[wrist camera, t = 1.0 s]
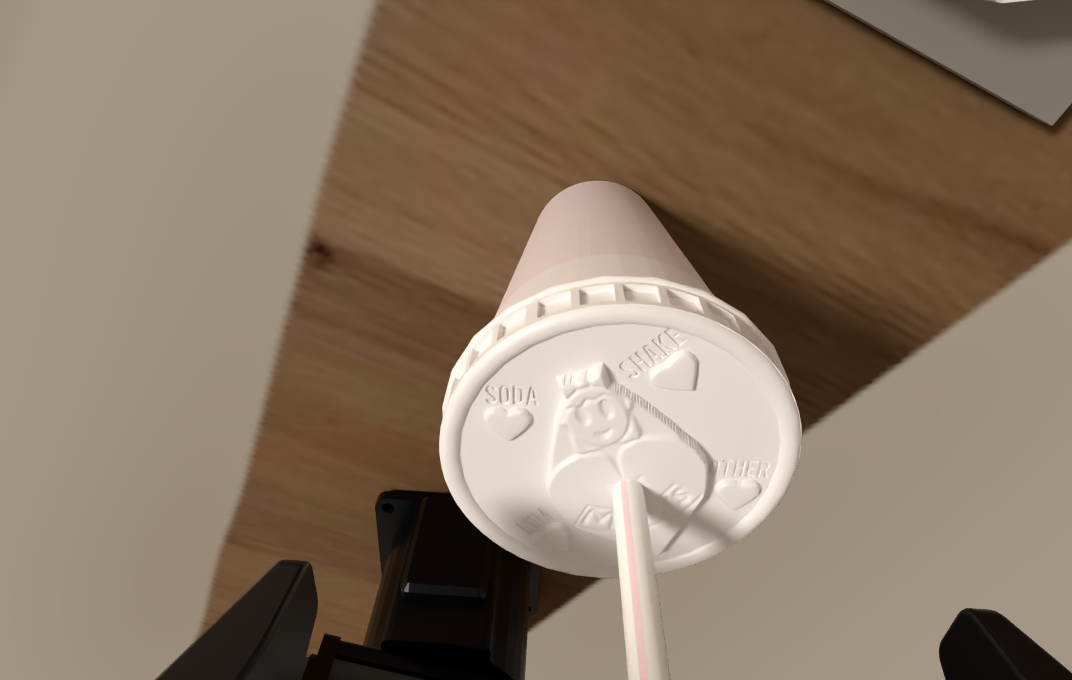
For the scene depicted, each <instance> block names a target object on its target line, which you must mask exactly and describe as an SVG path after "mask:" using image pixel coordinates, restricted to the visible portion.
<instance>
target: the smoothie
mask: <svg viewBox="0 0 1072 680" xmlns="http://www.w3.org/2000/svg"><path fill="white" fill-rule="evenodd" d="M442 409H443V420H442V424H441V429H440V438H439V454H440V461H441V467H442V471H443V474H444V478H445V481H446V483H447V486H448V488H449V490H450V493H451V494H452V496H453V498H454V500H455V502H456V503H457V505H458V506H459V508H460V509H461V510H462V512H463V513H464V514H465V516H466V517H467V518H468V519H469V520H470V521H471V522H472V524H473V525H474V526H476V527H477V528H478V529H479V530H480V531H481V532H482V533H483V534H484V535H486V536H487V537H488V538H489V539H491V540H492V541H493V542H495V543H496V544H498V545H499V546H501V547H502V548H504V549H505V550H507V551H509V552H511V553H513V554H515V555H516V556H518V557H520V558H522V559H525V560H527V561H530V562H532V563H535V564H537V565H540V566H542V567H545V568H548V569H552V570H556V571H560V572H564V573H568V574H573V575H579V576H588V577H598V578H619V579H620V591H621V602H622V615H623V627H624V637H625V650H626V661H627V674H628V680H670V674H669V667H668V660H667V653H666V646H665V639H664V632H663V624H662V617H661V611H660V603H659V596H658V589H657V582H656V575H655V574H662V573H667V572H671V571H674V570H677V569H681V568H684V567H688V566H691V565H694V564H697V563H699V562H701V561H704V560H706V559H708V558H710V557H712V556H714V555H717V554H719V553H721V552H723V551H725V550H726V549H728V548H729V547H731V546H732V545H734V544H736V543H737V542H739V541H740V540H742V539H743V538H745V537H746V536H748V535H749V534H750V533H751V532H752V531H753V530H754V529H756V528H757V527H758V526H759V525H760V524H761V523H762V522H763V521H764V520H765V519H766V518H767V517H768V516H769V515H770V514H771V513H772V511H773V510H774V509H775V507H776V506H777V505H778V504H779V503H780V501H781V499H782V498H783V496H784V495H785V493H786V492H787V490H788V488H789V486H790V484H791V482H792V480H793V477H794V474H795V472H796V469H797V466H798V462H799V457H800V453H801V442H802V428H801V420H800V414H799V410H798V407H797V404H796V400H795V397H794V395H793V393H792V391H791V389H790V383H789V380H788V377H787V375H786V373H785V370H784V368H783V366H782V364H781V361H780V359H779V357H778V355H777V352H776V350H775V348H774V346H773V344H772V343H771V342H770V341H769V340H768V339H767V338H766V337H765V336H764V335H763V334H762V332H761V331H760V330H759V329H758V328H757V327H756V326H755V325H754V324H753V323H752V322H751V320H750V319H749V318H748V317H747V316H746V315H745V314H744V313H742V312H741V311H739V310H737V309H735V308H734V307H732V306H730V305H729V304H727V303H725V302H724V301H722V300H720V299H718V298H717V297H715V296H714V295H713V294H712V293H711V291H710V290H709V288H708V287H707V286H706V284H705V283H704V282H703V280H702V279H701V277H700V276H699V275H698V273H697V272H696V271H695V269H694V268H693V266H692V265H691V264H690V262H689V261H688V260H687V258H686V257H685V255H684V254H683V253H682V251H681V250H680V249H679V247H678V246H677V244H676V243H675V242H674V240H673V239H672V238H671V236H670V235H669V233H668V232H667V231H666V229H665V228H664V227H663V225H662V224H661V222H660V221H659V220H658V218H657V217H656V216H655V214H654V213H653V211H652V210H651V209H650V207H649V206H648V205H647V203H646V202H645V201H644V200H643V199H642V198H641V197H640V196H639V195H638V194H636V193H635V192H634V191H632V190H631V189H629V188H627V187H625V186H623V185H620V184H617V183H613V182H608V181H588V182H583V183H579V184H576V185H573V186H571V187H568V188H567V189H565V190H563V191H562V192H560V193H559V194H557V195H556V196H555V197H554V198H553V199H552V200H551V201H550V202H549V203H548V204H547V205H546V206H545V208H544V209H543V211H542V212H541V214H540V216H539V218H538V221H537V223H536V225H535V227H534V230H533V232H532V234H531V236H530V239H529V241H528V243H527V245H526V248H525V250H524V252H523V255H522V257H521V259H520V261H519V264H518V266H517V268H516V270H515V273H514V275H513V277H512V279H511V282H510V284H509V286H508V289H507V291H506V293H505V295H504V298H503V300H502V302H501V304H500V307H499V309H498V311H497V313H496V316H495V318H494V319H493V320H492V321H491V322H490V323H489V324H487V325H486V326H485V327H484V328H483V329H482V330H480V331H479V332H478V333H477V334H476V335H475V336H474V337H473V338H472V340H471V341H470V343H469V345H468V346H467V348H466V349H465V351H464V352H463V354H462V355H461V357H460V358H459V360H458V362H457V363H456V365H455V366H454V368H453V369H452V372H451V375H450V379H449V383H448V387H447V391H446V395H445V398H444V402H443V406H442Z"/></svg>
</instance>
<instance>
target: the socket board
mask: <svg viewBox="0 0 1072 680" xmlns="http://www.w3.org/2000/svg"><path fill="white" fill-rule="evenodd" d="M823 1H825V2H827V3H829V4H830V5H832V6H834V7H836V8H838V9H839V10H841V11H843V12H845V13H846V14H848V15H850V16H852V17H854V18H855V19H857V20H859V21H861V22H863V23H864V24H866V25H868V26H870V27H871V28H873V29H875V30H877V31H879V32H880V33H882V34H884V35H886V36H887V37H889V38H891V39H893V40H895V41H896V42H898V43H900V44H902V45H904V46H905V47H907V48H909V49H911V50H912V51H914V52H916V53H918V54H920V55H921V56H923V57H925V58H927V59H928V60H930V61H932V62H934V63H936V64H937V65H939V66H941V67H943V68H944V69H946V70H948V71H950V72H952V73H953V74H955V75H957V76H959V77H961V78H962V79H964V80H966V81H968V82H969V83H971V84H973V85H975V86H977V87H978V88H980V89H982V90H984V91H985V92H987V93H989V94H991V95H993V96H994V97H996V98H998V99H1000V100H1001V101H1003V102H1005V103H1007V104H1009V105H1010V106H1012V107H1014V108H1016V109H1018V110H1019V111H1021V112H1023V113H1025V114H1026V115H1028V116H1030V117H1032V118H1034V119H1036V120H1039V121H1041V122H1044V123H1046V124H1049V125H1051V126H1052V125H1053V124H1054V123H1055V122H1056V121H1057V120H1058V118H1059V117H1060V116H1061V115H1062V114H1063V113H1064V112H1065V110H1066V109H1067V108H1068V107H1069V106H1070V105H1071V103H1072V0H823Z"/></svg>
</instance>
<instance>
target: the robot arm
mask: <svg viewBox="0 0 1072 680" xmlns="http://www.w3.org/2000/svg"><path fill="white" fill-rule="evenodd" d="M386 503H389V504H392V505H388V504H386ZM375 511H376V521H377V531H378V541H379V551H380V561H381V571H382V579H381V583H380V586H379V590H378V593H377V597H376V600H375V604H374V608H373V611H372V615H371V618H370V622H369V625H368V629H367V632H366V636H365V639H364V643H363V646H362V645H358V644H354V643H350V642H345V641H341V640H340V639H341V637H338V636H334V635H329V634H324V637H323V640H322V643H321V646H320V649H319V651H318V654H317V655H314V654H312V655H310V657H307V658H306V654H307V650H308V646H309V642H310V639H311V635H312V631H313V627H314V623H315V619H316V614H317V607H318V598H317V592H316V586H315V581H314V575H313V569H312V566H311V564H310V563H309V562H307V561H299V560H281V561H279V562H277V563H276V564H275V565H273V566H272V567H271V568H270V569H269V570H268V571H267V572H266V573H265V574H264V575H263V576H262V577H261V578H260V579H259V580H258V581H257V582H256V583H255V584H254V585H253V586H252V587H251V588H250V589H249V590H248V591H246V592H245V593H244V594H243V595H242V596H241V597H240V598H239V599H238V600H237V601H236V602H235V603H234V604H233V605H232V606H231V607H230V608H229V609H228V610H227V611H226V612H225V613H224V614H223V615H222V616H221V617H219V618H218V619H217V620H216V621H215V622H214V623H213V624H212V625H211V626H210V627H209V628H208V629H207V630H206V631H205V632H204V633H203V634H202V635H201V636H200V637H199V638H198V639H197V640H196V641H195V642H194V643H192V644H191V645H190V646H189V647H188V648H187V649H186V650H185V651H184V652H183V653H182V654H181V655H180V656H179V657H178V658H177V659H176V660H175V661H174V662H173V663H172V664H171V665H170V666H169V667H168V668H167V669H166V670H164V671H163V672H162V673H161V674H160V675H159V676H158V677H157V678H156V679H155V680H525V668H526V667H525V666H526V649H527V630H528V616H531V615H533V614H535V613H536V611H537V603H538V592H539V581H540V570H541V566H540V565H537V564H535V563H532V562H530V561H527V560H525V559H522V558H520V557H518V556H516V555H515V554H513V553H511V552H509V551H507V550H505V549H504V548H502V547H501V546H499V545H498V544H496V543H495V542H493V541H492V540H491V539H489V538H488V537H487V536H486V535H484V534H483V533H482V532H481V531H480V530H479V529H478V528H477V527H476V526H474V525H473V524H472V522H471V521H470V520H469V519H468V518H467V517H466V516H465V514H464V513H463V512H462V510H461V509H460V508H459V506H458V505H457V503H456V502H455V500H454V498H453V496H452V495H439V494H425V493H410V492H396V491H385V492H382V493H381V494H380V495H379V496H378V499H377V502H376V505H375ZM939 657H940V662H941V666H942V669H943V673H944V676H945V679H946V680H1072V673H1071V672H1070V671H1069V670H1067V669H1066V668H1065V667H1064V666H1063V665H1062V664H1060V663H1059V662H1058V661H1057V660H1055V658H1053V657H1052V656H1051V655H1050V654H1049V653H1047V652H1046V651H1045V650H1044V649H1043V648H1041V647H1040V646H1039V645H1037V643H1035V642H1034V641H1033V640H1032V639H1030V638H1029V637H1028V636H1027V635H1026V634H1025V633H1023V632H1022V631H1021V630H1020V629H1019V628H1017V627H1016V626H1015V625H1014V624H1013V623H1011V622H1010V621H1009V620H1008V619H1007V618H1005V617H1004V616H1003V615H1001V614H1000V613H998V612H996V611H993V610H987V609H973V608H966V609H964V610H962V611H961V612H960V613H959V614H958V615H957V617H956V619H955V620H954V622H953V623H952V625H951V626H950V628H949V629H948V631H947V633H946V634H945V636H944V638H943V639H942V641H941V643H940V647H939Z"/></svg>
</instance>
